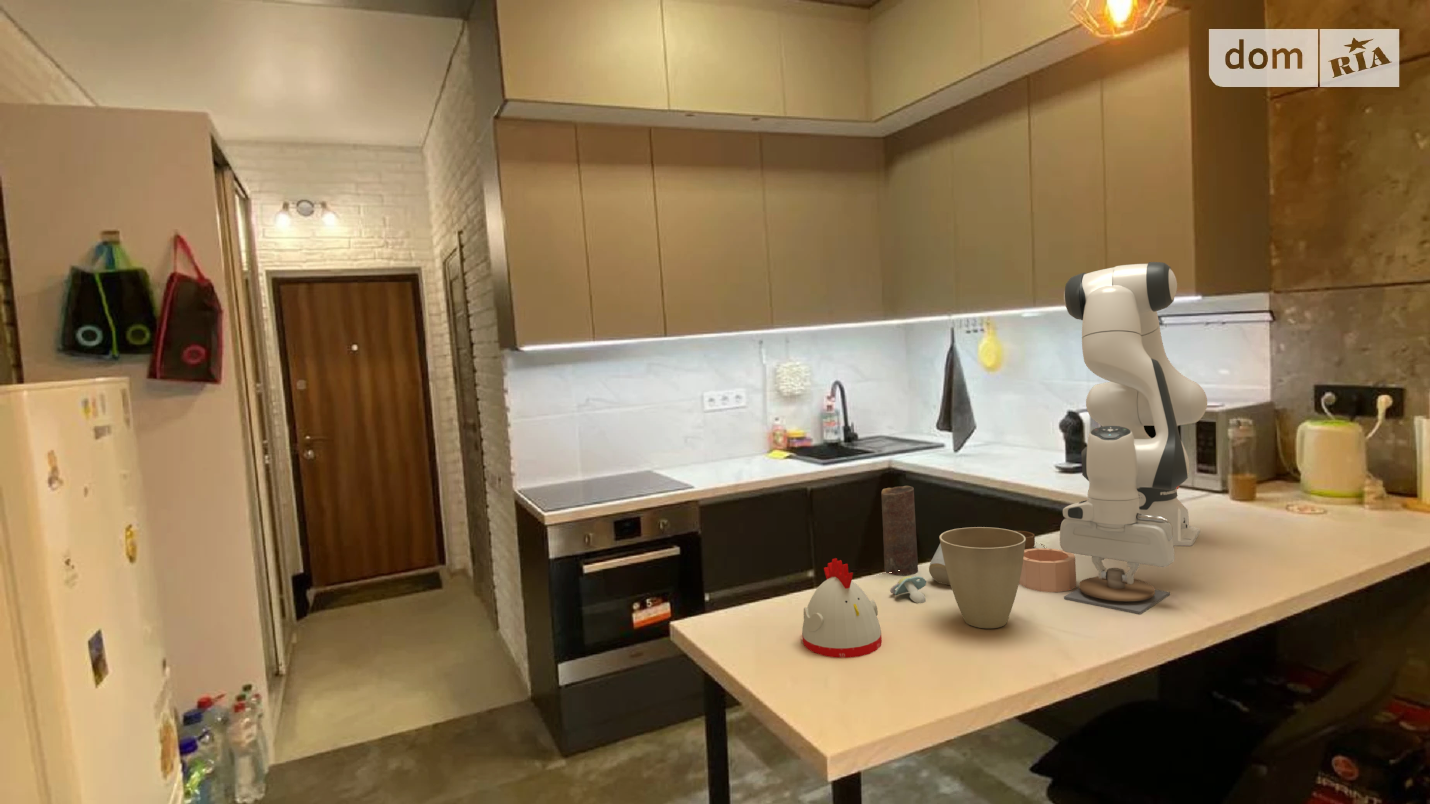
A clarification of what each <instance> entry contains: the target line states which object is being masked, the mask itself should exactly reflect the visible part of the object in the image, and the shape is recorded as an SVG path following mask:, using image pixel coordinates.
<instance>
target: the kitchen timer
mask: <svg viewBox="0 0 1430 804" xmlns="http://www.w3.org/2000/svg"><path fill="white" fill-rule="evenodd" d="M848 565H849V564H848V563H845V564H843V562H842V560H841V559H840V560H838V558H836V557H835V558H832V559H831V562H828V563H827V567H826V566H825V567H823V571H824V575H825V578H826V579H825V580H824V581H823V582H822V583H821V584H820V585H819V586H818V587H817V588H816V590H815V591H814V592H813V594H812V596H811V597H810V600H809V602H808V605H807V607H806V606H805V607H803V624H802V631H801V636H802V642H803V646H804V647H805V648H806V649H807V650H809V651H811V652H812V653H815V654H818V655H821V656H824V657H830V658H839V659H840V658H845V659H846V658H847V659H849V658H850V659H851V658H856V657H857V658H858V657H862V656H863V657H864V656H866V655H867V656H868V655H870V654H872V653H873V652H874V653H875V652H876V651H877V650H878V649H880V648H881V646H882V642H883V641H882V640H883V639H882V630H881V629H882V628H881V626H880V621H879V618H878V614H879V611H878V606H877V602H876V601H875V600H874V599H869V597H868V596H867V593H865V591H864V590H863V589H862V588H861V587H860V585H858V584H857V583H855V582H854V581H853V574H854V572H849V566H848Z"/></svg>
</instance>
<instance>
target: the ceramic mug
mask: <svg viewBox="0 0 1430 804" xmlns="http://www.w3.org/2000/svg"><path fill="white" fill-rule="evenodd" d="M928 572H929V574H930V576H931V577H932V578H933V580H934V581H936V582H937V583H938V584H939V583H940V584H944V585H948V586H951V585H950V581H949V578H948V574H947V571H946V567H945V563H944V558H943V553H942V548H941V543H939V545H938V547H937V549H936V551H935V552H934V555H933V557H932V559H931V561H930V564H929V566H928Z"/></svg>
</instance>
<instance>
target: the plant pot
mask: <svg viewBox="0 0 1430 804" xmlns="http://www.w3.org/2000/svg"><path fill="white" fill-rule="evenodd" d="M1015 531H1016V530H1011V529H1006V528H999V527H987V526H986V527H985V526H983V527H982V526H977V527H976V526H974V527H972V526H971V527H962V528H959V527H958V528H954V529H950V530H946V531H944V532H942V533H941V534H940V535H938V536H939V542H940V543H941V548H942V553H943V558H944V563H945V567H946V571H947V574H948V578H949V581H950V585H949V586H950V588H951V590H952V593H953V595H954V599H955V602H956V604H957V606H958V610H959V612H960V613H961V615H962V618H963V620H964V622H965V623H966V624H967V625H969V626H970V627H974V628H980V629H997V628H1001V627H1004V626H1005V625H1006V624H1007V623H1008V620H1009V618H1010V615H1011V611H1012V609H1013V605H1014V603H1015V599H1016V598H1017V597H1016V596H1017V591H1018V588H1019V585H1020V584H1019V581H1020V576H1021V571H1022V565H1023V558H1024V550H1025V542H1026V538H1025V536H1024V535H1022V534H1020V533H1018V532H1015ZM940 543H939V544H940Z"/></svg>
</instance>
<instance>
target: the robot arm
mask: <svg viewBox="0 0 1430 804" xmlns="http://www.w3.org/2000/svg"><path fill="white" fill-rule="evenodd" d="M1177 291H1178V281H1177V277H1176V275H1175V273H1174V271H1173V270H1172V267H1171V266H1170V265H1169V264H1167V263H1166V262H1162V261H1160V262H1159V261H1149V262H1148V263H1134V264H1122V265H1115V266H1114V267H1108V268H1104V269H1099V270H1095V271H1091V272H1088V273H1087V272H1081V273H1078V274H1075V275H1073V276H1070V278H1069V279H1068V281H1067V282H1066V283H1065V287H1064V291H1063V303H1064V305H1065V307H1066V310H1067V313H1068V314H1069V315H1070V316H1071V317H1072V318H1074V319H1075V320H1080V321H1082V323H1081V325H1082V326H1081V347H1082V354H1083V355H1082V356H1083V362H1084V364H1085V365H1086V367H1087V368H1088V370H1089V371H1091V373H1093V375H1096V376H1097V377H1099V378H1101V379H1104V380H1106V381H1107V382H1102V383H1097V384H1095V385H1093V386H1092V387H1091V388H1090V390H1089V391H1088V393H1087V396H1086V400H1085V406H1086V410H1087V413H1088V415H1089V417H1090V418H1091V419H1092V420H1093V421H1094V422H1096V423H1098V425H1100V426H1099V427H1096V428H1093V429H1091V430H1090V432H1089V434H1088V437H1087V438H1088V439H1087V445H1086V446H1085V447H1084V448H1083V449H1082V450H1081V453H1080V454H1081V471H1082V472H1081V474H1082V475H1081V476H1082V477H1084V479H1086V480H1087V481H1088V484H1089V485H1088V491H1087V500H1082V501H1079V502H1075V503H1072V504H1069V505H1066V506H1064V507H1063V509H1062V516H1063V517H1064V519H1063V520H1062V521H1061V524H1060V528H1059V529H1060V530H1059V546H1060V548H1061V550H1063V551H1064V552H1068V553H1073V554H1074V555H1075V554H1076V555H1083V556H1088V557H1091V562H1092V564H1093V565H1094V567H1095V568H1096V570H1097V572H1098V577H1099V579H1102V580H1107V569H1108V568H1106V567H1105V565H1104V563H1103V562H1102V561H1104V560H1105V559H1109V560H1114V561H1121V562H1126V564H1127V565H1126V566H1127V568H1129V570H1128V572H1124V574H1122V579H1123V580H1122V583H1125V584H1130V585H1131V584H1133V582H1134V579H1135V578H1134V575H1135V573H1136V572H1137V570H1138V569H1139V567H1140V566H1141V565H1146V566H1147V565H1148V566H1153V567H1159V568H1166V567H1168V566H1170V565H1171V564H1172V563H1173V562H1174V561H1175V559H1176V558H1175V549H1174V548H1175V547H1179V546H1186V547H1187V546H1193V545H1194V543H1195V542H1196V540H1197V538H1198V537H1199V535H1200V533H1201V529H1200V528H1199V527H1197V526H1196V527H1195V526H1191V525H1190V519H1189V511H1188V508H1186V506H1185V505H1184V504H1182V502H1181V501H1180V500H1179V499H1178V496H1179V495H1178V489H1180V486H1181V485H1182V484H1183V483H1185V482H1186V481H1187V480H1188V478H1189V473H1190V460H1189V456H1188V453H1187V450H1186V448H1185V445H1184V443H1183V442H1182V440H1181V437H1180V436H1181V435H1180V432H1179V426H1182V425H1183V426H1184V425H1190V424H1195V423H1197V422H1199V421H1200V420H1201V419H1202V417H1204V415H1205V413H1206V411H1207V407H1208V398H1207V394H1206V392H1205V390H1204V389H1203V387H1202V386H1201V385H1200V384H1199V383H1197V382H1195V381H1194V380H1191V379H1190V378H1188V377H1187V376H1185V375H1183V374H1182V372H1180V371H1179V370H1177V368H1176V367H1174V365H1173V364H1172V363H1171V361H1170V360H1169V358H1168V357H1167V354H1166V351H1165V346H1164V343H1163V338H1162V333H1161V327H1160V322H1159V315H1158V311H1161V310H1164V309H1167V308H1169V307H1170V306H1171V304H1173V303H1174V300H1175V296H1176V294H1177ZM1144 426H1147V427H1148V426H1150V427H1151V426H1154V427H1153V428H1154V430H1155V436H1154V437H1151V436H1149V434H1148V433H1147V432H1146V430H1145V427H1144ZM1174 546H1175V547H1174ZM1140 564H1141V565H1140Z"/></svg>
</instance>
